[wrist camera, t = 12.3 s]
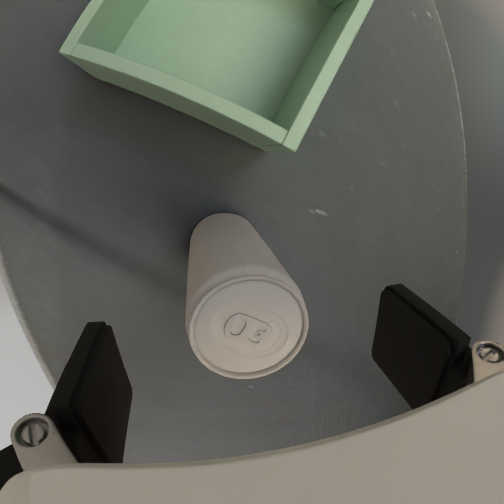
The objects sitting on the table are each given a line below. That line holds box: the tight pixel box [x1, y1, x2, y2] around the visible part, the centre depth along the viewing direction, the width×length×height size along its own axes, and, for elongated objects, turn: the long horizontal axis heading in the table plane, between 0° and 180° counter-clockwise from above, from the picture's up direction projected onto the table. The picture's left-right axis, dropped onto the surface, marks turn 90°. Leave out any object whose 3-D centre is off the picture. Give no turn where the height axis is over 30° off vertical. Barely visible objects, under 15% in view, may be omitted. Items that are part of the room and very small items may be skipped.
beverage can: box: [185, 213, 309, 379], centre depth 17 cm, size 5×5×12 cm
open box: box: [59, 0, 374, 152], centre depth 15 cm, size 14×14×7 cm
